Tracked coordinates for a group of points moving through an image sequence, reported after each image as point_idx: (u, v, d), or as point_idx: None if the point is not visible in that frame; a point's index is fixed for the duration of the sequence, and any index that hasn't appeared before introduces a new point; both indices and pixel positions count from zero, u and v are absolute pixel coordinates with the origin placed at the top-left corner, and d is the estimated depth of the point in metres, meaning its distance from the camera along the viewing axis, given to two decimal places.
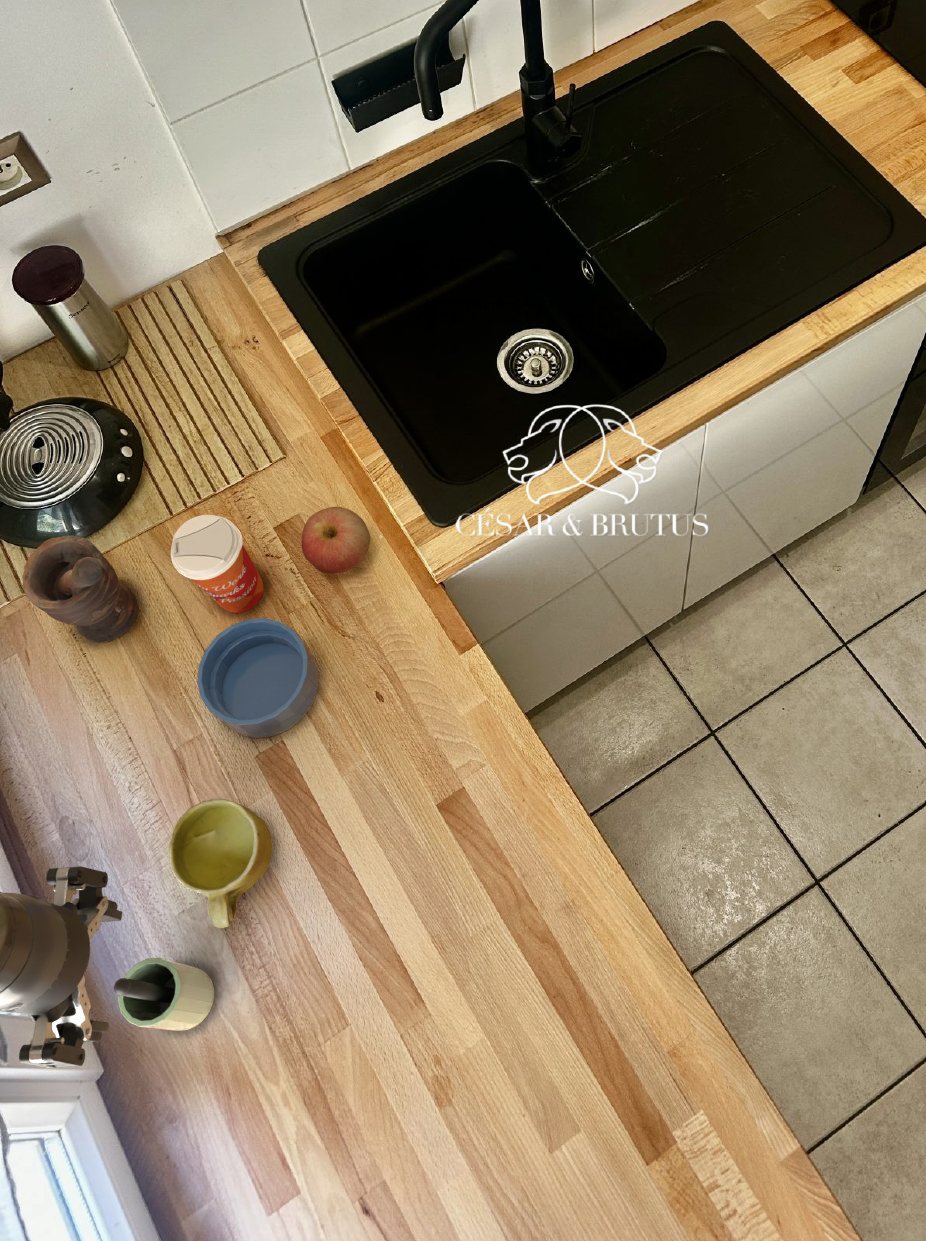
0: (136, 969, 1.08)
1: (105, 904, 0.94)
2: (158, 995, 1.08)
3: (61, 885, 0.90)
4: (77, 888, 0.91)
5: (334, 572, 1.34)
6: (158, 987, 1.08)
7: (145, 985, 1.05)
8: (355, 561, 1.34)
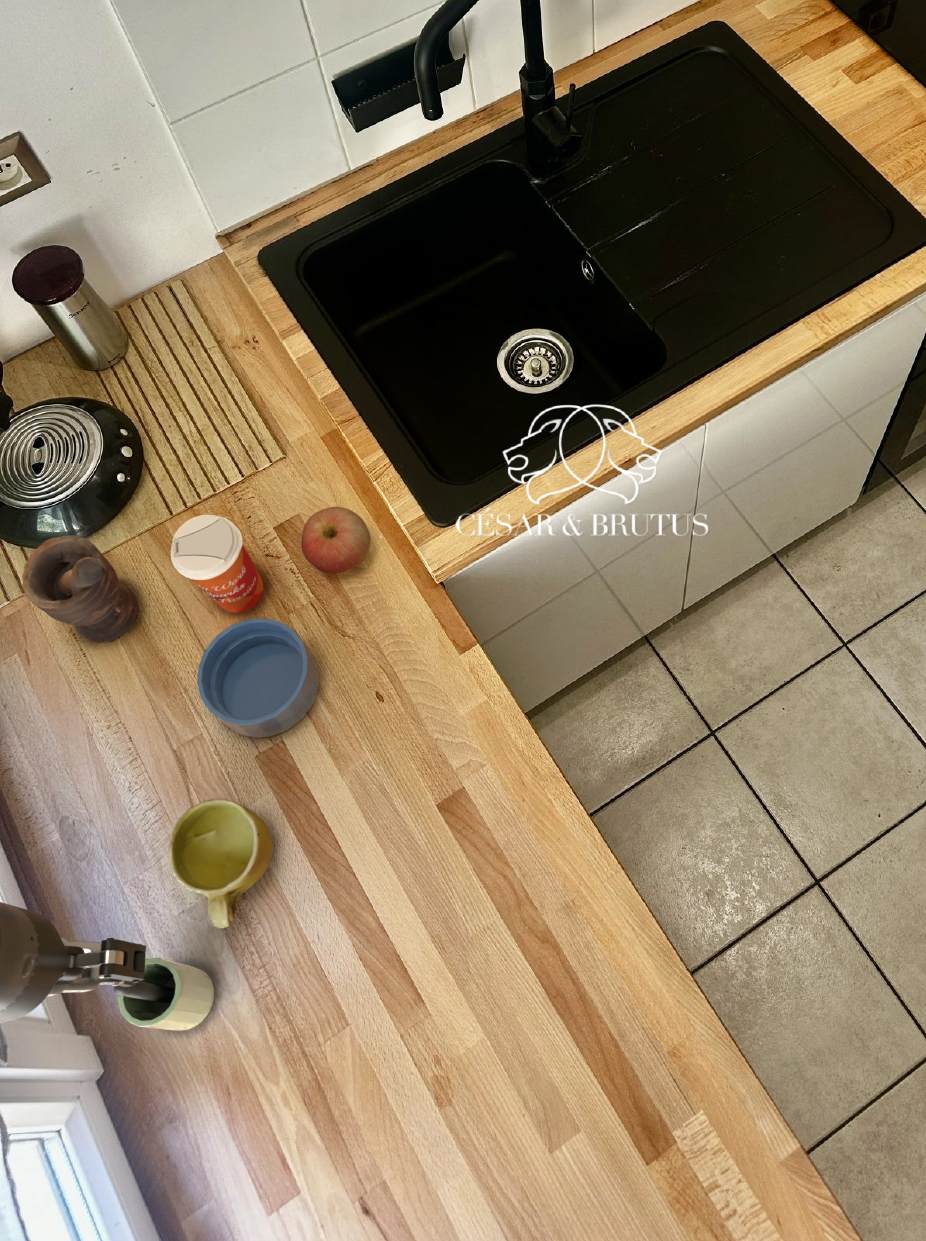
0: None
1: (114, 984, 0.89)
2: (158, 995, 1.08)
3: (95, 958, 0.84)
4: None
5: (334, 572, 1.34)
6: (158, 987, 1.08)
7: (145, 985, 1.05)
8: (355, 561, 1.34)
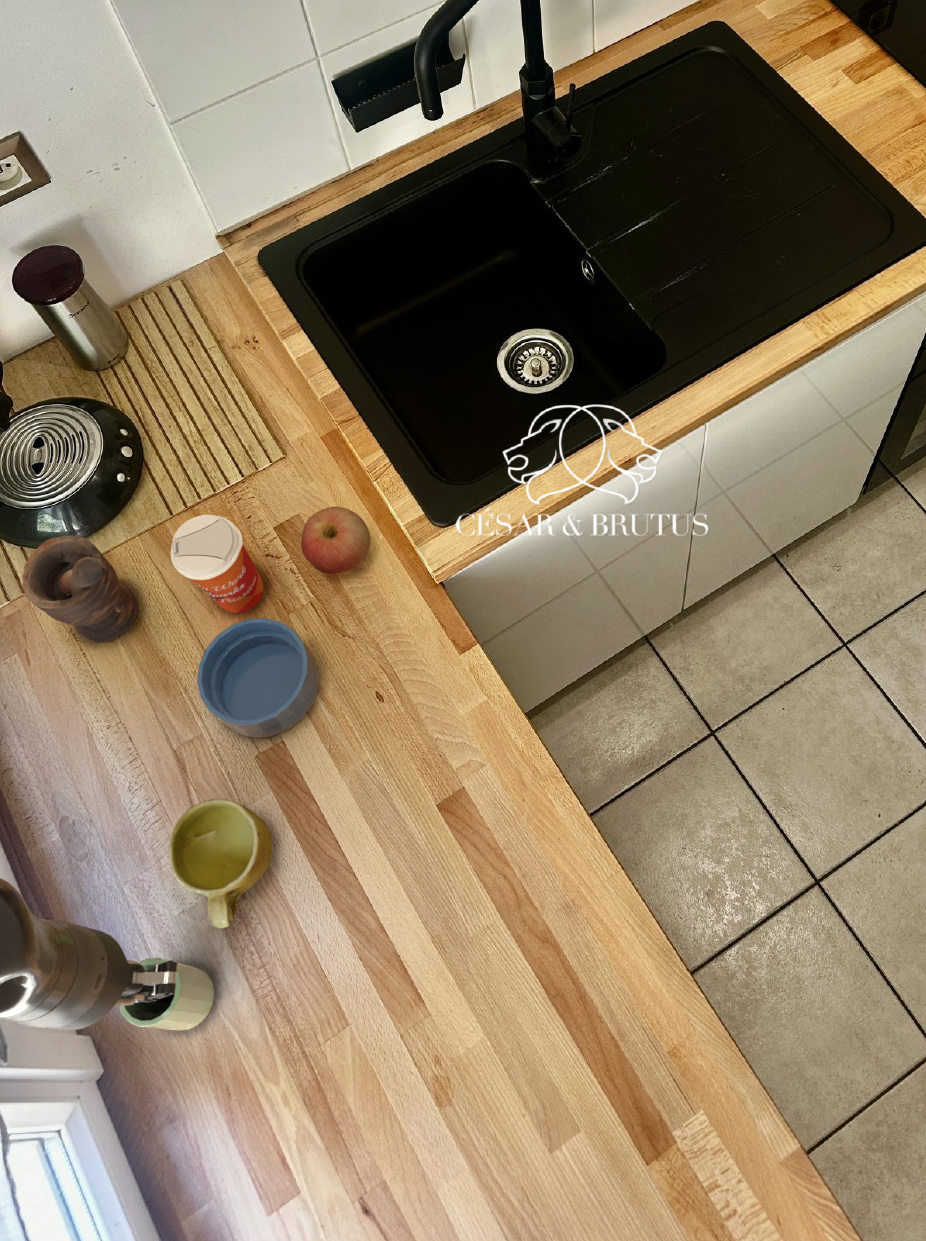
0: None
1: (136, 1001, 1.01)
2: None
3: (160, 977, 0.96)
4: (153, 989, 0.97)
5: (334, 572, 1.34)
6: None
7: None
8: (355, 561, 1.34)
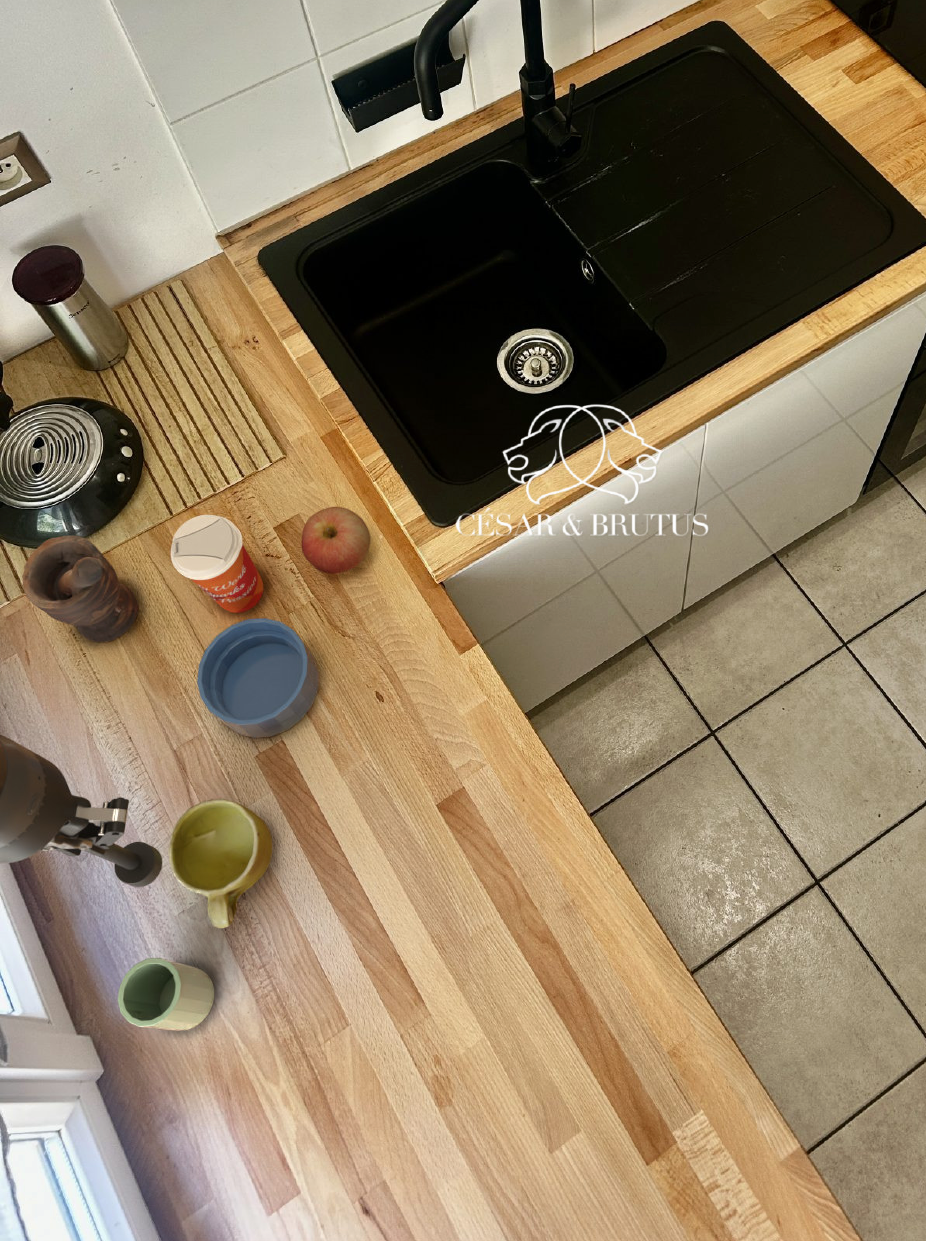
0: (136, 969, 1.08)
1: (83, 848, 0.89)
2: (111, 853, 0.96)
3: (108, 814, 0.85)
4: (101, 828, 0.85)
5: (334, 572, 1.34)
6: None
7: None
8: (355, 561, 1.34)
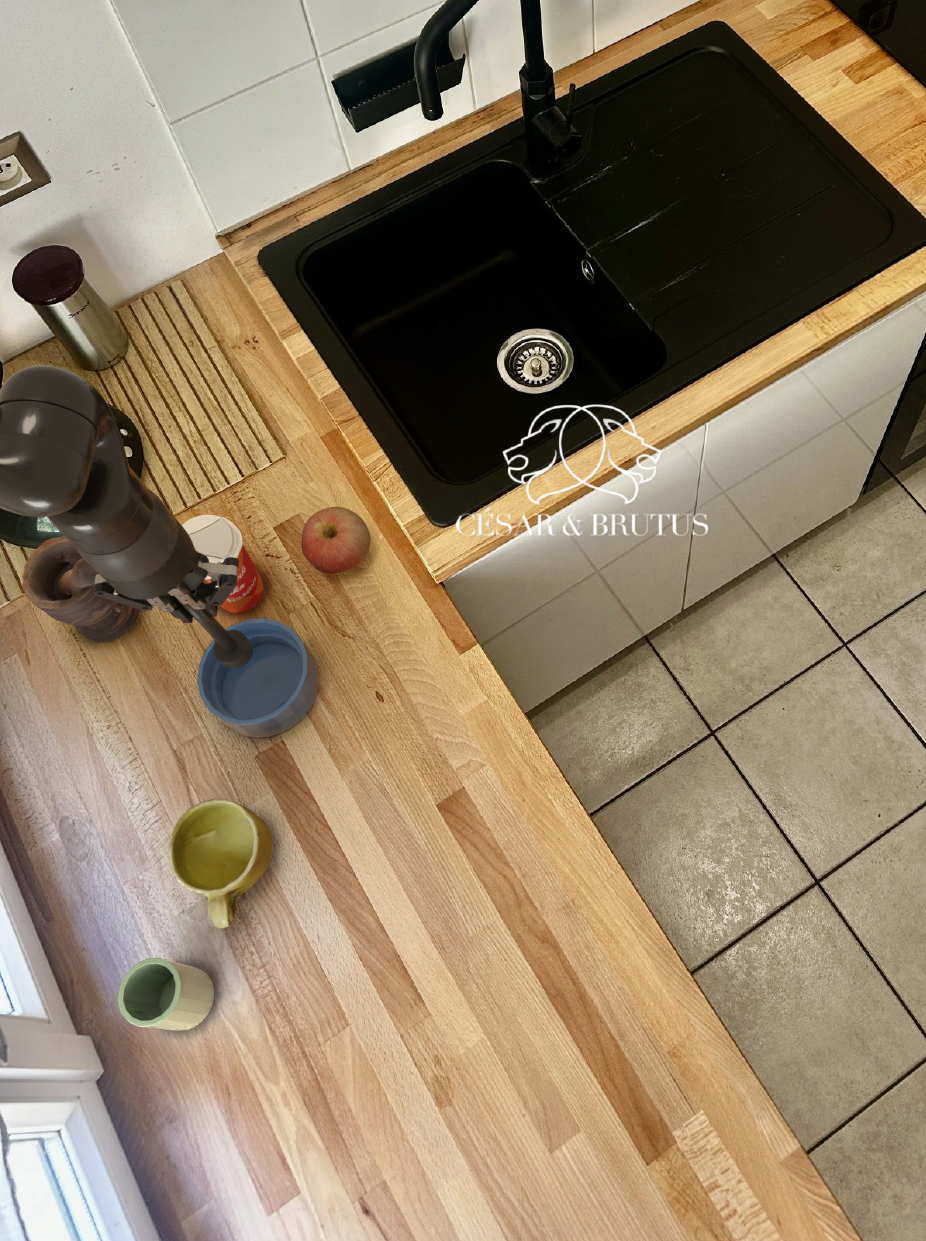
0: (136, 969, 1.08)
1: (198, 607, 1.06)
2: (215, 626, 1.13)
3: (223, 569, 1.02)
4: (217, 581, 1.02)
5: (334, 572, 1.34)
6: (215, 619, 1.13)
7: None
8: (355, 561, 1.34)
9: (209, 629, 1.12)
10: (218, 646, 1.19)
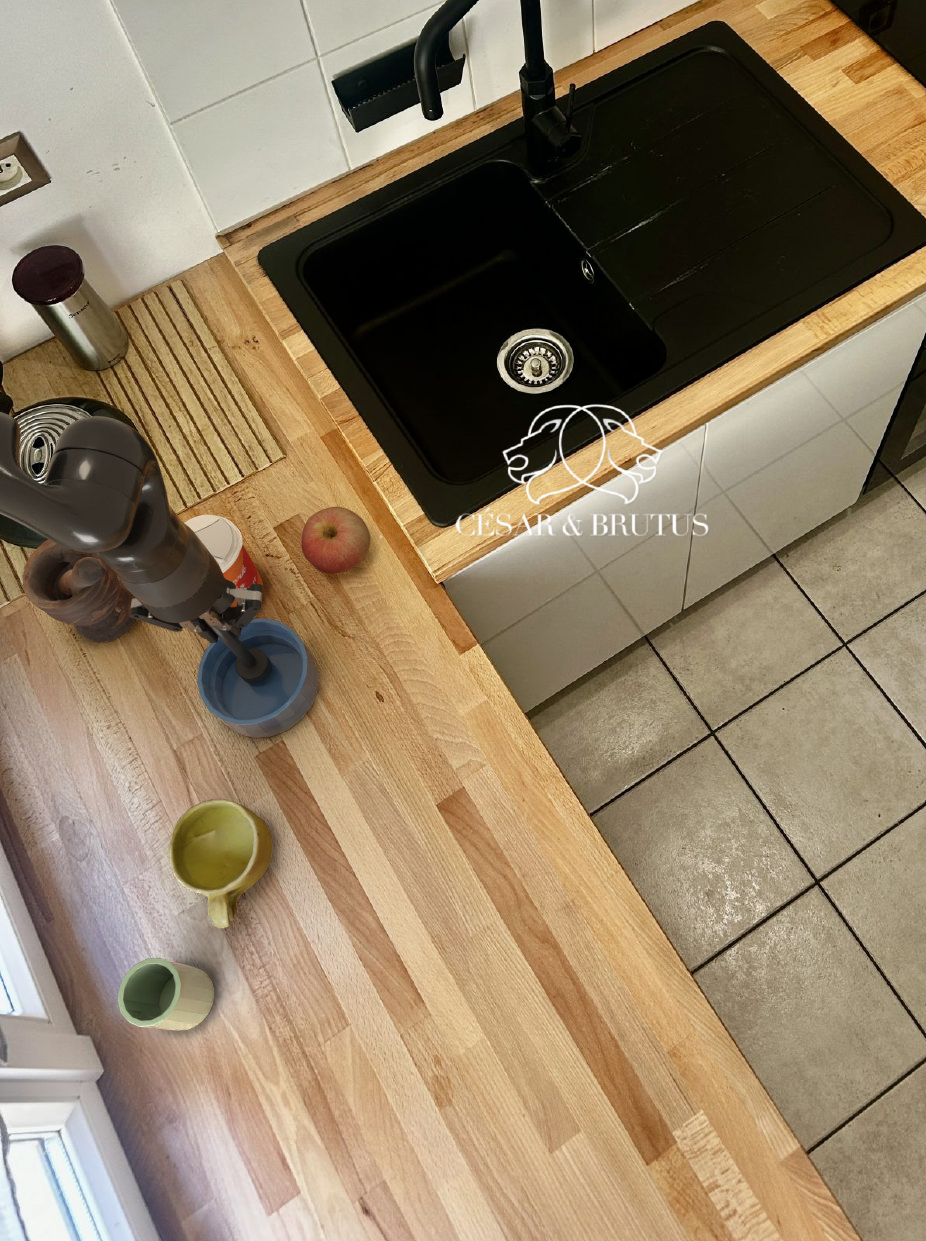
0: (136, 969, 1.08)
1: (224, 629, 1.15)
2: (238, 645, 1.22)
3: (249, 594, 1.11)
4: (243, 606, 1.12)
5: (334, 572, 1.34)
6: (238, 638, 1.22)
7: None
8: (355, 561, 1.34)
9: (233, 648, 1.22)
10: (239, 663, 1.28)
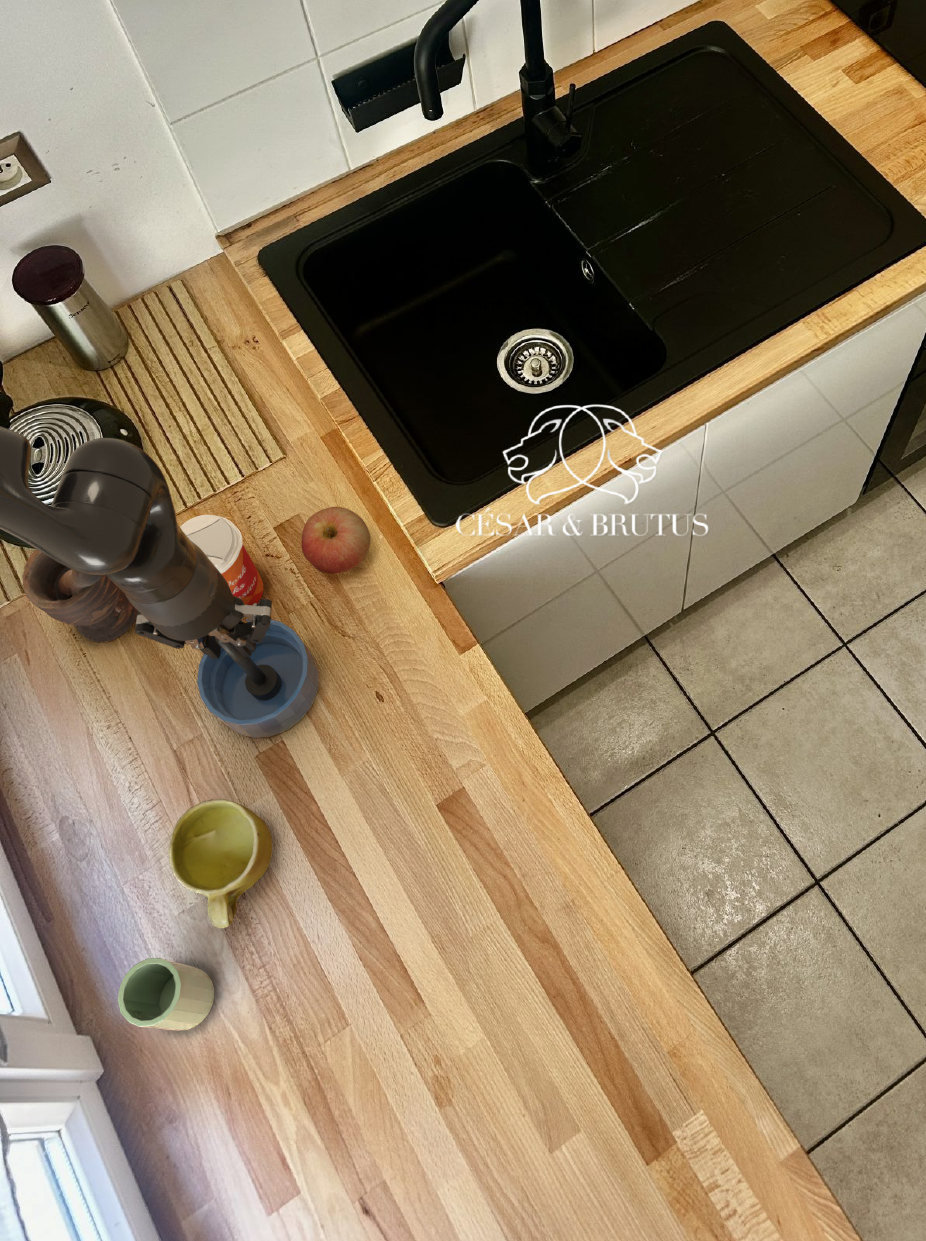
0: (136, 969, 1.08)
1: (239, 644, 1.15)
2: (248, 663, 1.23)
3: (257, 610, 1.11)
4: (252, 622, 1.11)
5: (334, 572, 1.34)
6: None
7: None
8: (355, 561, 1.34)
9: (243, 666, 1.22)
10: (249, 680, 1.29)
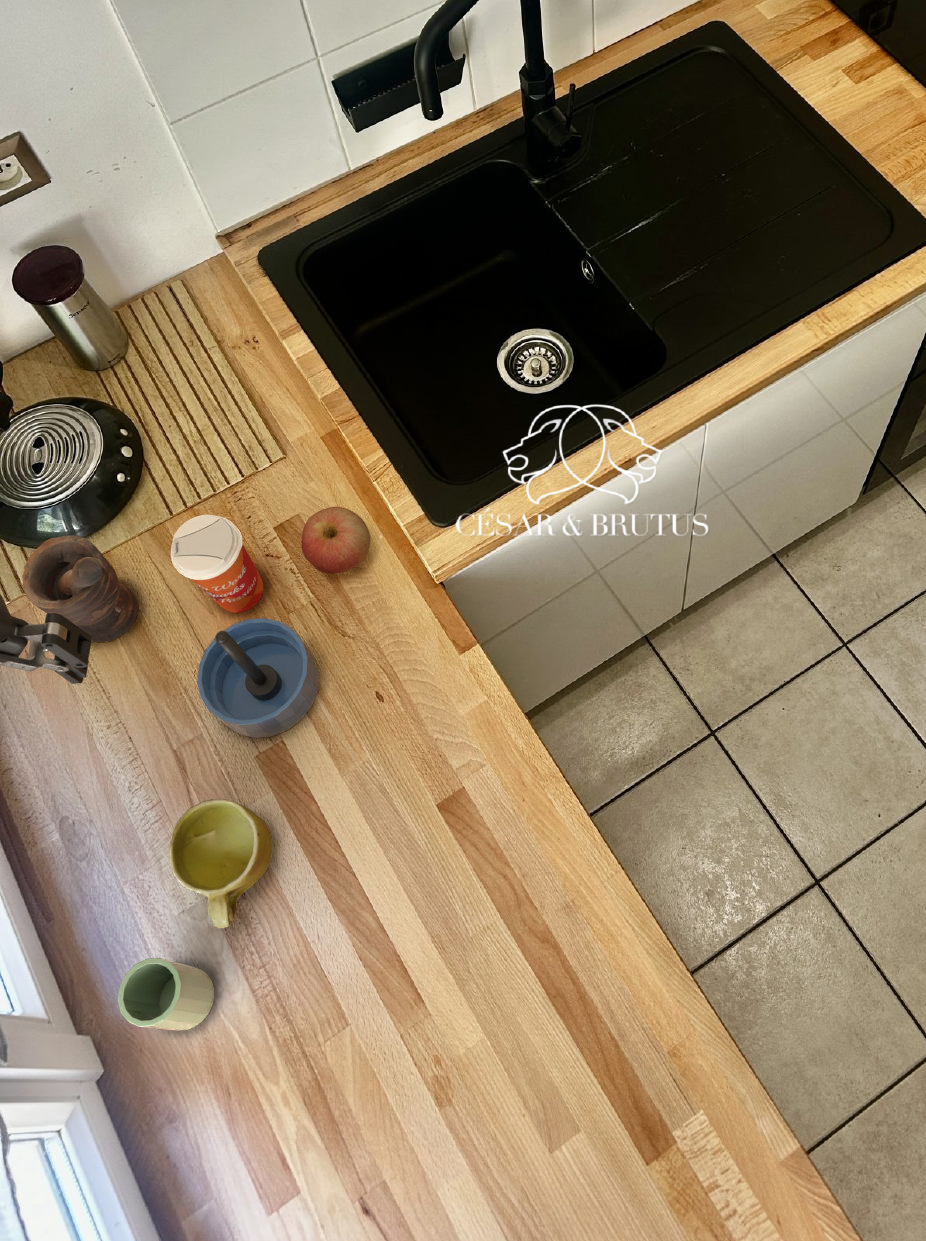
0: (136, 969, 1.08)
1: (58, 670, 0.92)
2: (248, 663, 1.23)
3: (39, 629, 0.88)
4: None
5: (334, 572, 1.34)
6: (248, 656, 1.23)
7: (239, 646, 1.20)
8: (355, 561, 1.34)
9: (243, 666, 1.22)
10: (249, 680, 1.29)
